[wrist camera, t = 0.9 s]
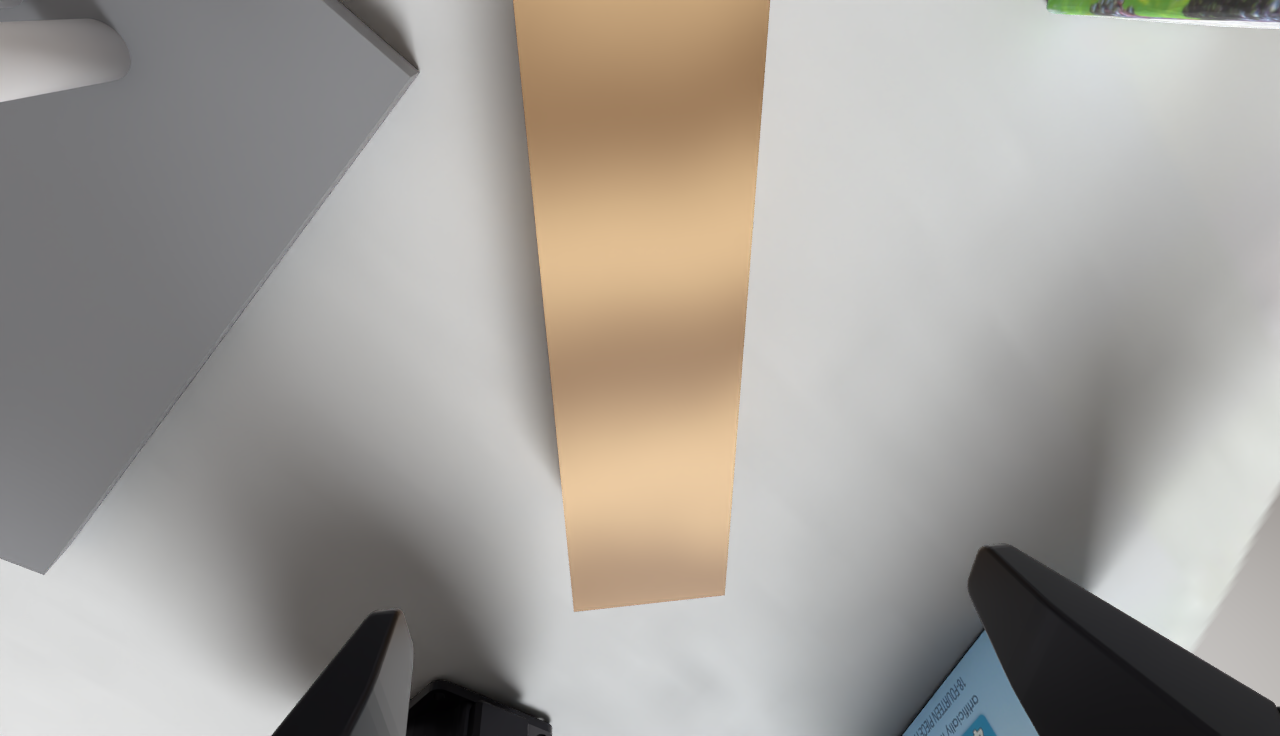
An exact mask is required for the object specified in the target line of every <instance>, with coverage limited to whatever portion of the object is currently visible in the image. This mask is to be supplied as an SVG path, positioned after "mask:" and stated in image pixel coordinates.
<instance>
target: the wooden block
mask: <svg viewBox="0 0 1280 736" xmlns="http://www.w3.org/2000/svg"><path fill="white" fill-rule="evenodd" d="M513 5H514V15H515V25H516V35H517V45H518V55H519V65H520V75H521V85H522V95H523V105H524V115H525V125H526V135H527V145H528V155H529V165H530V175H531V185H532V195H533V205H534V215H535V225H536V235H537V245H538V255H539V265H540V275H541V285H542V295H543V305H544V315H545V325H546V335H547V345H548V355H549V365H550V375H551V385H552V396H553V406H554V416H555V426H556V436H557V446H558V456H559V466H560V476H561V486H562V496H563V506H564V516H565V526H566V536H567V546H568V556H569V566H570V576H571V586H572V596H573V606H574V612H577V611H586V610H595V609H604V608H613V607H622V606H631V605H640V604H649V603H658V602H667V601H676V600H685V599H694V598H703V597H712V596H721V595H725V584H726V571H727V558H728V544H729V531H730V518H731V505H732V492H733V479H734V466H735V453H736V440H737V427H738V414H739V401H740V387H741V374H742V361H743V348H744V335H745V322H746V309H747V296H748V283H749V270H750V257H751V244H752V230H753V217H754V204H755V191H756V178H757V165H758V152H759V139H760V126H761V113H762V100H763V87H764V73H765V60H766V47H767V34H768V21H769V8H770V0H513Z"/></svg>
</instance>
